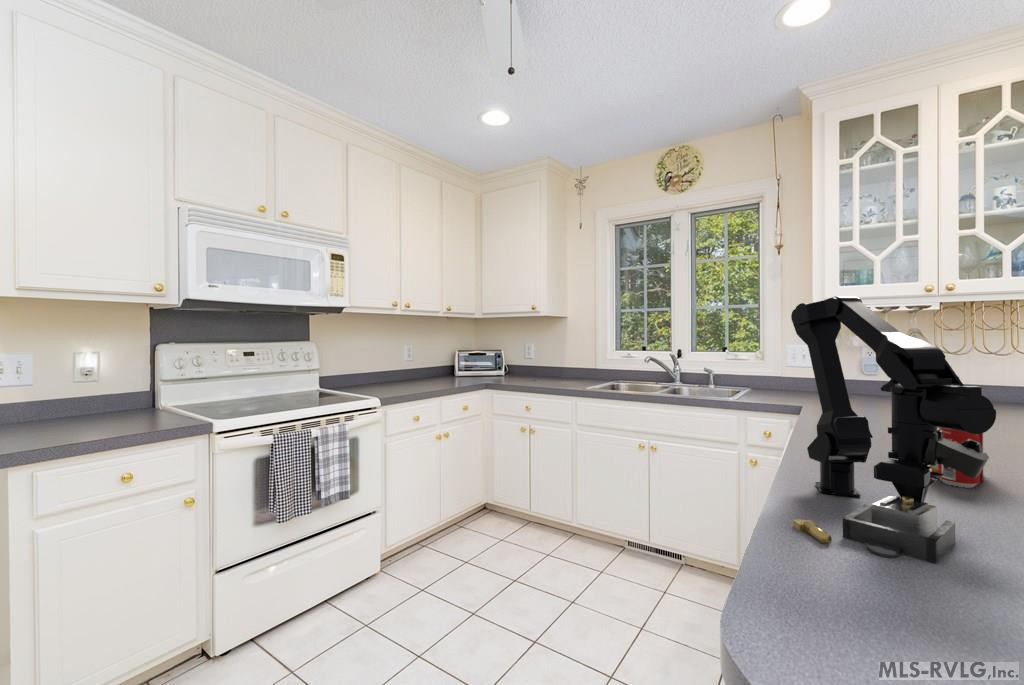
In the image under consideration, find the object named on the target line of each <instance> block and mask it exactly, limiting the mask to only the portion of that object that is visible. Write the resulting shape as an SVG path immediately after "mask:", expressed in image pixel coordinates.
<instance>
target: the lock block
mask: <svg viewBox="0 0 1024 685" xmlns="http://www.w3.org/2000/svg"><path fill="white" fill-rule="evenodd" d="M872 523H873V524H877V525H881V526H884V527H888V528H892V529H896V530H900V531H904V532H908V533H912V534H916V535H920V536H924V537H929V536H930V535H931V534H933V533H934V532H935V531H936V530H937V529H938V506H936V505H932V504H929V503H928V502H925V501H924V502H921V503H919V502H915V501H914V500H913V497H910V496H902V498H901V497H900V496H898V495H894V496H893V495H890V496H887V497H884V498H882V499H880V500H877V501H875V502H874V503H872Z"/></svg>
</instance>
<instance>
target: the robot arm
mask: <svg viewBox="0 0 1024 685" xmlns="http://www.w3.org/2000/svg"><path fill="white" fill-rule="evenodd" d="M794 308H795V309H793V310H792V312H791V314H790V316H791V318H790V320H791V322H792V324H793V327H794V331H795V333H796V335H797V336H798V338H800V339H801V341H803V342H804V343H805V344H806V345H807V348H808V353H809V357H810V361H811V367H812V371H813V375H814V380H815V384H816V390H817V392H818V398H819V403H820V408H821V415H820V417H819V419H818V422H817V424H816V435H817V436H816V437H815V438H814V439H813V440H812V442H811V443H810V444H809V445H808V446H807V448H806V450H807V454H808V457H809V459H811V460H813V461H816V462H819V481H815V486H816V487H817V488H818V490H819V492H820V493H822V494H827V495H828V494H829V495H837V496H838V495H839V496H847V497H858V498H859V497H860V498H861V493H860V491H859V490H858V489H857V488H856V487H855V463H862V464H863V463H864V464H865V463H866V462H867V461H868V460H867V459H868V456H869V453H870V450H871V448H872V439H873V435H872V433H871V430H870V426H869V424H870V423H869V420H868V419H867V417H866V416H859V415H858V414H857V413H856V412H855V411H854V410H853V409H852V404H851V401H850V397H849V391H848V388H847V383H846V380H845V375H844V373H843V372H844V371H843V368H842V362H841V359H840V355H839V350H838V346H837V343H836V342H837V341H836V340H837V338H838V336H839V333H840V331H841V329H842V324H843V325H844V327H846V328H847V329H848V330H850V331H851V332H852V333H853V334H854V335H856V336H857V338H859V340H861V341H862V342H863V343H864V344H866V345H867V346H868V347H869V348H870V349H871V350H872V351H873V352H874V353H875V362H876V364H877V365H878V366H879V367H880V369H881V370H882V372H884V374H885V375H886V376H887V377H888V378H889V379H890V380H889V381H888V382H887V383H885V384H883V385H882V386H881V387H880V391H881V392H887V393H891V395H890V398H891V401H890V402H891V405H890V406H891V425H890V426H887V434H891V450H889V451H887V454H888V455H887V458H885V459H884V460H881V461H880V462H878V463H877V464H875V465H873V479H876V480H878V481H879V480H880V481H884V482H888V483H889V482H890V483H891V484H892V485H893V486H894V488H895V490H896V492H897V493H898V495H899V497H900V498H902V496H910V497H913V500H914V501H915V502H919V503H921V502H925V500H926V497H927V495H928V490H929V488H930V486H931V485H933V484H934V483H935V482H937V481H938V480H940V478H941V477H942V476H943V474H941V473H935V472H932V468H931V467H929V466H930V465H934V466H935V465H937V464H943V466H944V468H948V469H949V468H952V469H955V470H957V471H959V472H961V473H962V474H963V475H965V476H968V477H971V478H976V477H977V476H978V475H980V473H981V471H982V469H983V470H984V467H985V465H986V463H988V460H989V458H990V456H989V455H988V453H987V452H984V451H983V452H982V447H981V443H979V442H976V441H974V440H971V439H968V440H966V441H965V442H963V443H961V444H958V442H956V441H954V442H952V441H949V440H946V439H944V438H943V431H941V428H937V427H942V428H947V429H952V430H957V431H962V432H967V433H972V434H981V433H983V434H985V433H986V432H988V431H989V430H990V429H991V428H992V427H993V426H994V425H995V421H996V420H997V418H996V417H997V409H995V408H994V404H993V403H992V401H991V400H990V399H989V398H988V397H986V396H984V395H983V394H982V390H983V389H982V387H981V386H976V385H964V384H963V382H962V381H961V379H960V377H959V376H958V375H957V374H956V372H955V370H954V369H953V367H952V366H951V365H950V363H949V362H948V361H947V359H946V355H945V353H944V352H943V351H942V349H941V348H939V347H937V346H936V345H933V344H931V343H930V342H927V341H925V340H923V339H921V338H916V337H913V336H910V335H906V334H905V333H902V332H901V331H899V330H898V329H896V328H895V327H894V326H893V325H892V324H890V323H889V322H888V321H886V320H885V319H884V318H883V317H882V316H880V315H879V314H878V313H876V312H874V311H873V310H872V309H870V308H869V307H868V306H867V305H866V304H864V303H863V301H862V299H861V298H860V297H858V296H854V295H849V296H847V295H844V296H840V295H838V296H836V295H835V296H832V297H830V298H826V299H824V300H823V299H822V300H818V301H815V302H806V303H805V302H804V303H802V302H801V303H799V304H797V305H796V307H794Z"/></svg>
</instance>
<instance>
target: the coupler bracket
mask: <svg viewBox="0 0 1024 685" xmlns="http://www.w3.org/2000/svg"><path fill="white" fill-rule="evenodd" d="M872 504H873V503H872V502H871V503H870V502H866V503H865V504H863V505H861V506H859V507H858V508H856V509H855V510H853V511H851V512H849V513H848V514H846V515H845V516H843V517H842V538H845V539H848V540H852V541H856V542H859V543H863V544H866V545H867V551H868V552H870V553H871V554H874V555H876V556H878V557H882V558H887V559H888V558H889V559H897V558H899V557H900V555H904V556H907V557H911V558H915V559H918V560H922V561H925V562H928V563H932V564H937V563H938V562H939V561H940V560H941V558H943V556H944V555H945V554H947V552H948V551H949V550H950V549H951V548H952V547H953V546H954V544H956V522H955V521H950V520H945V521H944V522H943V523H942V524H941V525H940V526H939V527H937V530H936V531H935V532H934V533H933V534H931V535H930V536H929V537H924V536H920V535H916V534H912V533H908V532H904V531H900V530H896V529H892V528H888V527H884V526H881V525H877V524H873V523H872Z"/></svg>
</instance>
